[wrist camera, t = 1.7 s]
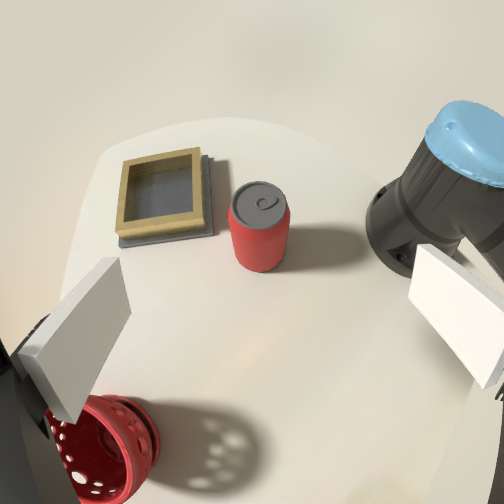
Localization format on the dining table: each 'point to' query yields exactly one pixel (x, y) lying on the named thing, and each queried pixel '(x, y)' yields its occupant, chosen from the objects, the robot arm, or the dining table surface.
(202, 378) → the dining table surface
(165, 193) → the frame
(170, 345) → the dining table surface
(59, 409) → the robot arm
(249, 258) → the beer can
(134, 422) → the plant pot
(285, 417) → the dining table surface
